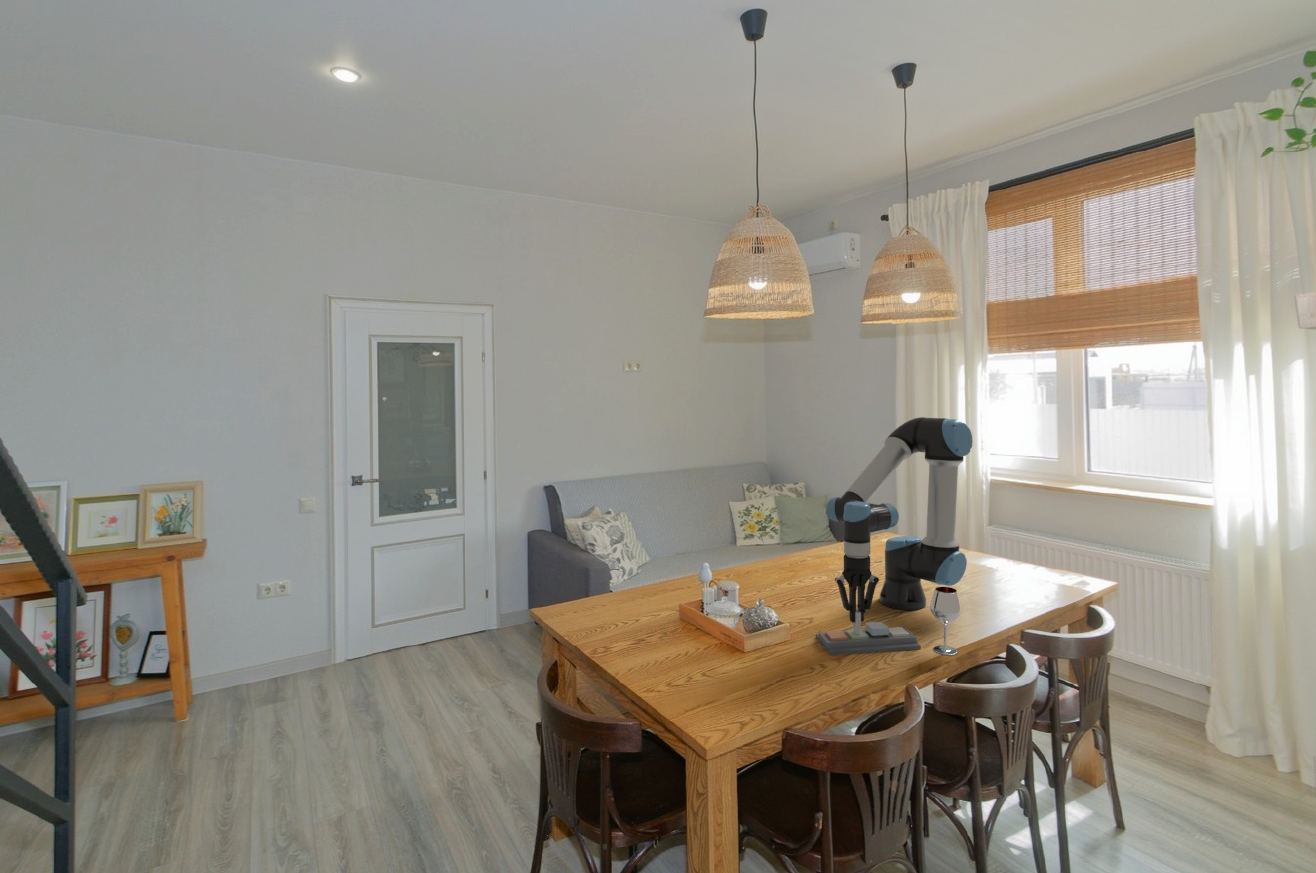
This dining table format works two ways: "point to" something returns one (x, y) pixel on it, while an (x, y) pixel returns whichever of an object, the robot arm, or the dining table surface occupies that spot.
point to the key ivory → (898, 632)
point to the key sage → (856, 635)
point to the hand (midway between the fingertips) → (856, 632)
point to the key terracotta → (836, 636)
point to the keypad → (869, 643)
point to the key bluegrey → (877, 628)
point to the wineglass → (945, 613)
